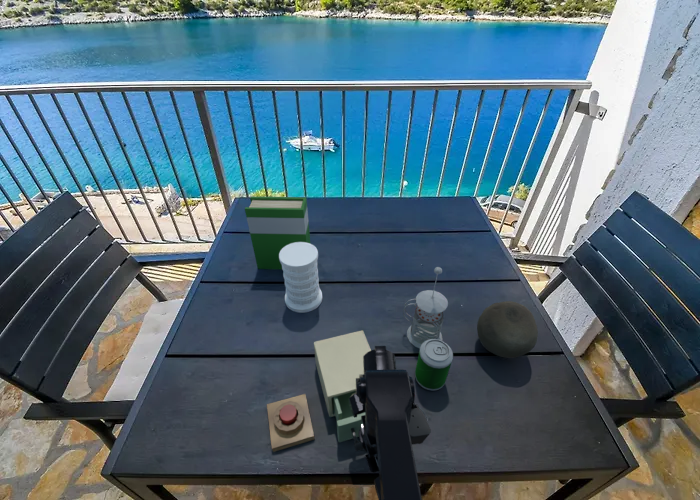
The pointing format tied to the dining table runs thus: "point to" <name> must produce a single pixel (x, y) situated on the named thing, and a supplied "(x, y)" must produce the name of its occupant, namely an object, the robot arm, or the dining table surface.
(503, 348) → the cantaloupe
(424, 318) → the french press
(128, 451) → the dining table surface
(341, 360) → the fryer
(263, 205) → the hardback book
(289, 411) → the red button
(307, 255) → the decorative container
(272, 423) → the control block
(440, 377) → the soda can
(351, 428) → the drawer
